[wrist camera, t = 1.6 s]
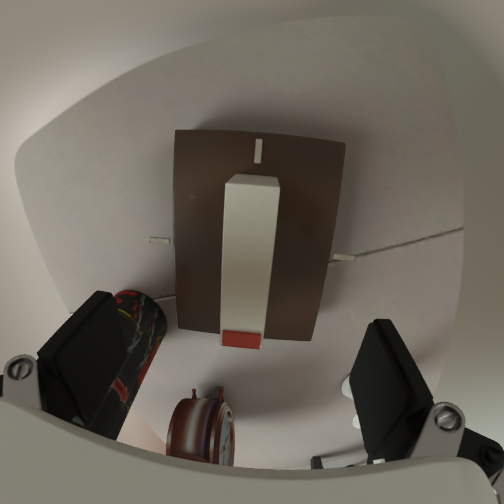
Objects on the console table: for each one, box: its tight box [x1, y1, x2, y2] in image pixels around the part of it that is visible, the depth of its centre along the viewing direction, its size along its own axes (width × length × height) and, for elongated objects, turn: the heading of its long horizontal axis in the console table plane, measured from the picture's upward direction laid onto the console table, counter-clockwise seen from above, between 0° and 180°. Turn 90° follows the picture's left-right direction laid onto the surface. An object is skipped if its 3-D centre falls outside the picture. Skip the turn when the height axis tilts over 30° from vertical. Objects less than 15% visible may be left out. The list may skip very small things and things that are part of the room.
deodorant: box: [70, 290, 167, 441], centre depth 17 cm, size 6×6×15 cm
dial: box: [220, 174, 280, 349], centre depth 15 cm, size 9×2×4 cm, turn 176°
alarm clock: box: [166, 387, 235, 467], centre depth 21 cm, size 11×5×15 cm, turn 3°
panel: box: [149, 130, 354, 341], centre depth 19 cm, size 14×13×3 cm
